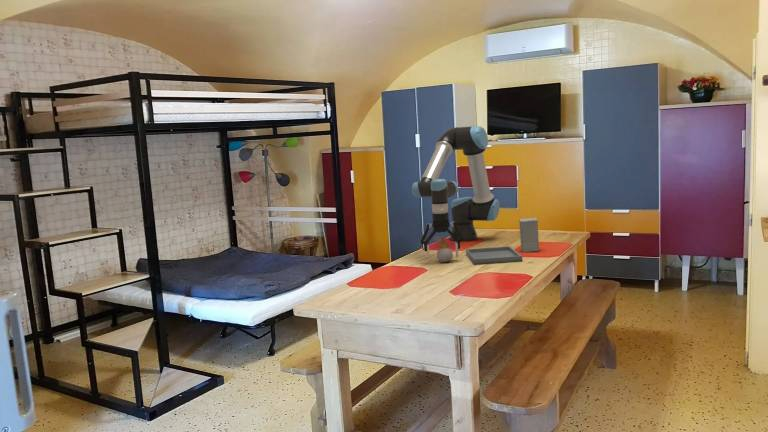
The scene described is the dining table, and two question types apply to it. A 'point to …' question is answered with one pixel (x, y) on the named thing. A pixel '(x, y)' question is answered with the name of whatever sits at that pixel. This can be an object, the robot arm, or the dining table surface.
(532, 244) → the skincare box
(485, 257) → the tray
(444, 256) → the perfume bottle
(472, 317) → the dining table surface
